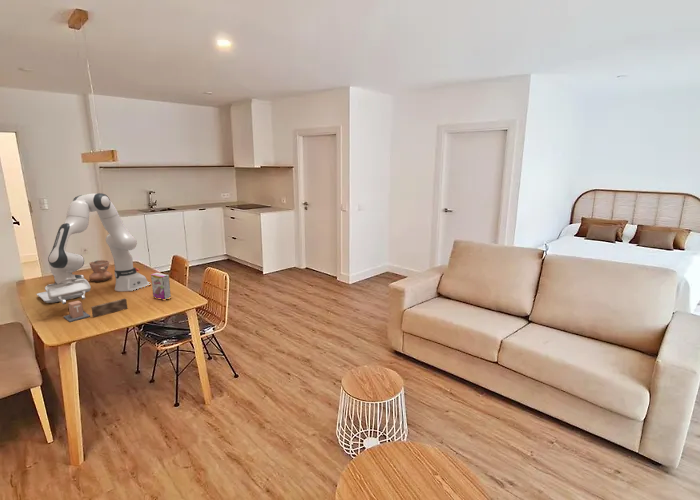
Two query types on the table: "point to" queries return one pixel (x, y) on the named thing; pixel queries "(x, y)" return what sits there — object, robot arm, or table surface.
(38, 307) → the table surface
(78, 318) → the charcoal mat
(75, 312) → the pink block
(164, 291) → the candy bar box
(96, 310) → the walnut screen
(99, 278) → the ceramic jug
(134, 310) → the table surface
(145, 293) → the table surface
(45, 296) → the salad plate
